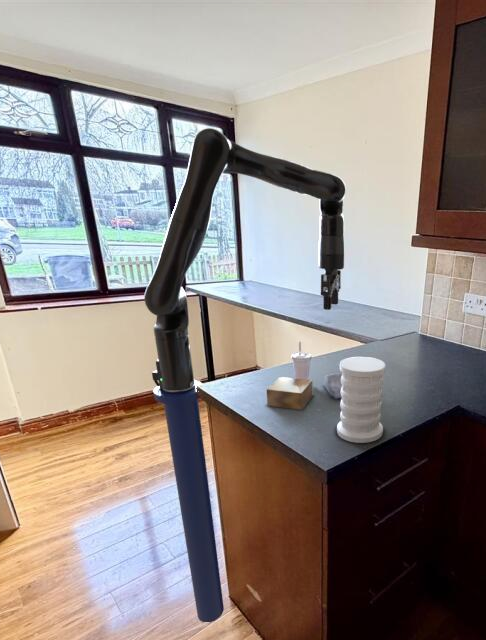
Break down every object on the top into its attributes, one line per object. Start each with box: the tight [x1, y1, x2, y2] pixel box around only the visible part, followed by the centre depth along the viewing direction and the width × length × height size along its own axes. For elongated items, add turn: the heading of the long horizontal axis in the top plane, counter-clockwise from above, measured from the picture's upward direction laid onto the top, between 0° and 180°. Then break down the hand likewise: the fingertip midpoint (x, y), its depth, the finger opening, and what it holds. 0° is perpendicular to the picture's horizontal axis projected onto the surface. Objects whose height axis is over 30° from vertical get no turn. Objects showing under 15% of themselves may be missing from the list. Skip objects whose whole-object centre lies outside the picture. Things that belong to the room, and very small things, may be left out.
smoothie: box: [290, 341, 313, 380], centre depth 127 cm, size 6×6×14 cm
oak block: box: [266, 376, 313, 411], centre depth 116 cm, size 10×10×5 cm
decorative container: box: [336, 356, 387, 444], centre depth 99 cm, size 12×12×18 cm
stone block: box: [323, 373, 342, 400], centre depth 125 cm, size 12×5×10 cm
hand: (331, 306), depth 125 cm, fingers open, 8 cm apart
